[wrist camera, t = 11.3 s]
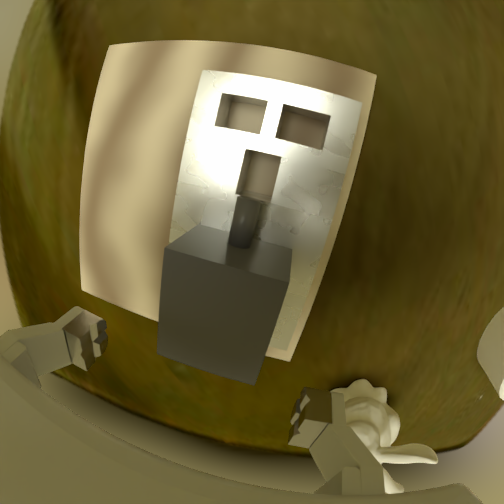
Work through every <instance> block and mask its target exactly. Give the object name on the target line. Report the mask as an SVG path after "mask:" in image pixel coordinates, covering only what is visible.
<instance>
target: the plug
mask: <svg viewBox="0 0 504 504" xmlns="http://www.w3.org/2000/svg"><path fill="white" fill-rule="evenodd" d="M260 204H261V201H260V200H258V199H255V198H252V197H247V196H237V200H236V205H235V209H234V214H233V219H232V224H231V228H230V232H227V231H223V230H219V229H216V228H212V227H208V226H204V225H200V224H198V225H196V226H195V227H193V228H192V229H190V230H189V231H187V232H186V233H185V234H183V235H182V236H180V237H179V238H177V239H176V240H174V241H173V242H172V243H170V244H169V245H167V246H166V247H165V248H164V256H163V266H162V277H161V289H160V302H159V319H158V341H157V354H159V355H162V356H164V357H167V358H169V359H172V360H175V361H178V362H180V363H183V364H186V365H189V366H192V367H195V368H198V369H201V370H204V371H207V372H210V373H213V374H216V375H219V376H223V377H226V378H229V379H233V380H236V381H240V382H244V383H247V384H251V385H255V383H256V380H257V377H258V375H259V372H260V369H261V366H262V363H263V361H264V358H265V355H266V352H267V349H268V346H269V343H270V341H271V338H272V335H273V332H274V329H275V326H276V323H277V320H278V317H279V314H280V311H281V308H282V305H283V302H284V298H285V295H286V292H287V289H288V286H289V283H290V272H291V261H292V249H290V248H287V247H283V246H279V245H276V244H272V243H268V242H264V241H261V240H257V239H253V234H254V230H255V225H256V221H257V217H258V213H259V209H260Z"/></svg>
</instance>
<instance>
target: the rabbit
mask: <svg viewBox="0 0 504 504" xmlns="http://www.w3.org/2000/svg"><path fill="white" fill-rule="evenodd" d="M331 391H332V392H338V393H343V395H344V403H345V414H346V426H350V427H351V428H352V430H353V431H354V432H355V433H356V435H357V436H358V437H359V438H360V440H361V441H362V442H363V443H364V445H365V446H366V447H367V448H368V450H369V451H370V452H371V453H372V455H373V456H374V457H375V458H376V459H377V461H378V462H379V463H380V464H382V463H383V462H386V463H396V464H408V463H420V462H422V463H429V464H436V463H437V462H438V457H437V455H436V453H435V452H434V451H433V449H431V448H430V447H428V446H426V445H423V444H417V443H411V444H406V445H401V446H391V447H390V445H391V444H392V443H393V441H394V440H395V439H396V437H397V435H398V432H399V428H400V420H399V416H398V414H397V413H396V412H395V411H394V410H393V409H392V408H391V407H390V406H389V405H388V404H387V403H386V402H387V390H386V389H385V388H384V387H378V388H374V387H372V385H371V384H370V383H369V381H368V380H366V379H359V380H356V381H354V382H353V383H352V384H351V385H350V386H349V387H348V388H337V389H333V390H331ZM383 474H384V485H385V492H386V493H388V494H393V493H403V492H404V487H403V486H402V485H401V484H399V483H396V482H394V481H393V479H392V478H391V477H390V475H389V474H388V472H387V471H386V470H385V469H383Z"/></svg>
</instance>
